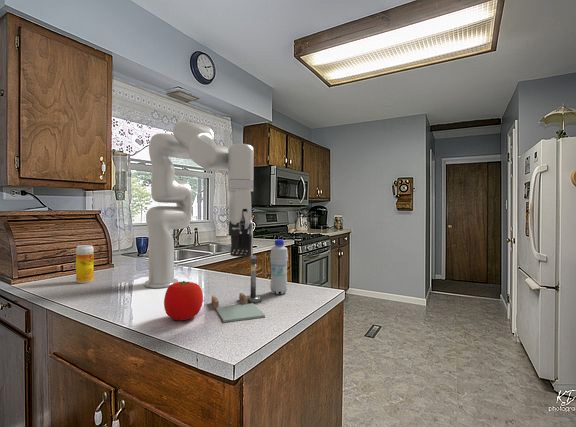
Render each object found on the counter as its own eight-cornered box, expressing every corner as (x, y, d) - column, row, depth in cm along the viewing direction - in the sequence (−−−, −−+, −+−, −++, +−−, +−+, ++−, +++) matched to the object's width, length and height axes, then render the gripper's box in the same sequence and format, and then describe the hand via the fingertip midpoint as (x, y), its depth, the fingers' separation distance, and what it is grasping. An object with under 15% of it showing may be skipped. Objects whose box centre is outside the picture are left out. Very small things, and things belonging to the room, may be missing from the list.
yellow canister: (87, 283, 127) (87, 246, 127) (72, 283, 127) (72, 246, 127) (96, 280, 133) (96, 244, 133) (82, 280, 133) (82, 244, 133)
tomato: (169, 312, 95) (169, 276, 95) (205, 311, 96) (205, 276, 95) (158, 325, 84) (158, 285, 84) (198, 325, 85) (198, 285, 85)
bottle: (285, 295, 113) (286, 240, 113) (267, 294, 115) (268, 239, 114) (289, 291, 120) (290, 238, 119) (272, 289, 121) (272, 238, 121)
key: (249, 306, 96) (250, 262, 96) (250, 294, 110) (250, 255, 109) (255, 306, 96) (256, 262, 96) (255, 293, 110) (256, 255, 109)
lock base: (243, 300, 108) (243, 295, 108) (257, 298, 109) (257, 294, 109) (247, 304, 103) (247, 300, 103) (262, 302, 105) (262, 298, 105)
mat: (215, 309, 98) (215, 307, 98) (253, 304, 103) (253, 303, 103) (223, 322, 87) (223, 320, 87) (265, 317, 92) (265, 315, 92)
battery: (226, 256, 94) (226, 218, 93) (233, 254, 97) (233, 217, 97) (247, 258, 91) (247, 218, 91) (253, 256, 95) (253, 218, 94)
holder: (211, 302, 104) (211, 295, 104) (242, 299, 108) (242, 292, 108) (215, 309, 98) (215, 301, 98) (247, 305, 102) (247, 298, 102)
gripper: (222, 187, 100) (221, 243, 101) (235, 184, 84) (234, 250, 85) (245, 188, 103) (244, 242, 104) (261, 185, 87) (261, 249, 88)
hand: (240, 245), depth 94 cm, fingers closed on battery, 6 cm apart
